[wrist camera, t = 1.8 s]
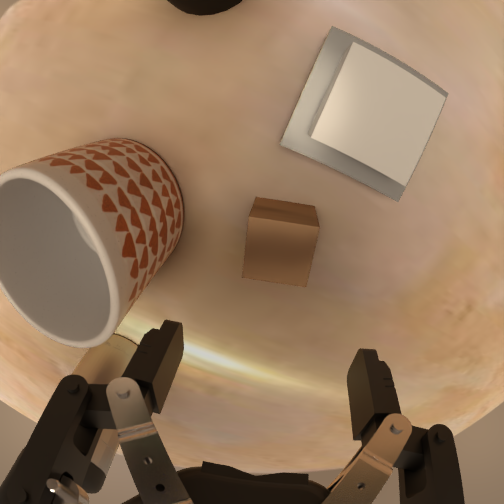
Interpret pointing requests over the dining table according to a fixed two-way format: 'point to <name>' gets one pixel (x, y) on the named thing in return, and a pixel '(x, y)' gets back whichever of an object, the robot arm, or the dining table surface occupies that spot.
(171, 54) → the dining table surface
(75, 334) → the vase
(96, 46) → the dining table surface
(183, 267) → the dining table surface
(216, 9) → the wine bottle
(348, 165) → the plinth
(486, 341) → the dining table surface
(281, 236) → the walnut block
